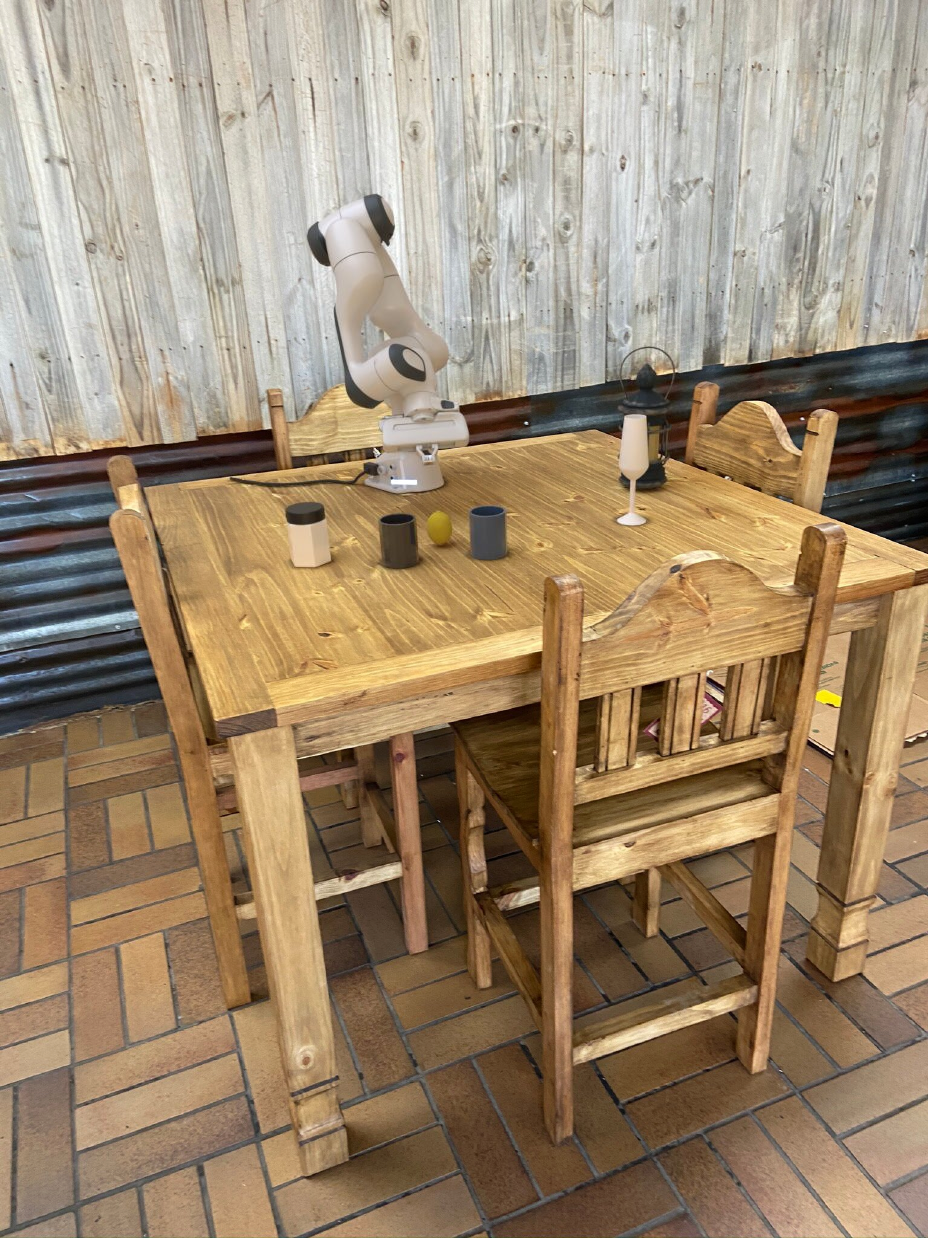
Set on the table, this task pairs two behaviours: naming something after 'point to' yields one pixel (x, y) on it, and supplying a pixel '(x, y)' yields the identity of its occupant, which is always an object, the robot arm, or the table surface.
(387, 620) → the table surface
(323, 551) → the jar
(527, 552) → the table surface
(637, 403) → the lantern
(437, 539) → the lemon
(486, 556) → the slate cup
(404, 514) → the charcoal cup
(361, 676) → the table surface
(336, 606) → the table surface
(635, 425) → the champagne flute
